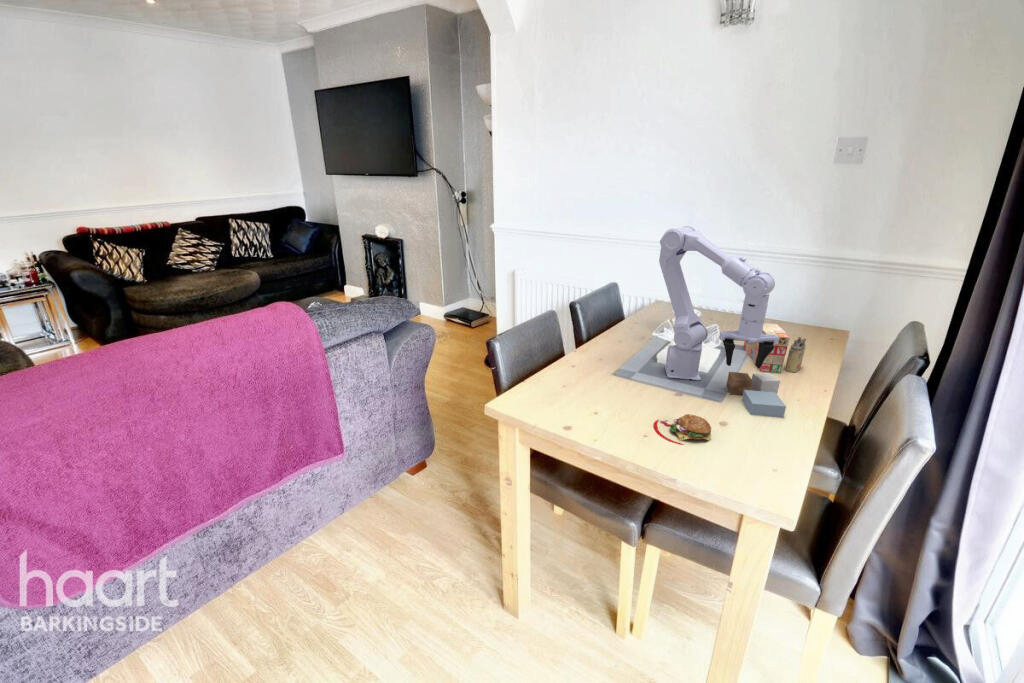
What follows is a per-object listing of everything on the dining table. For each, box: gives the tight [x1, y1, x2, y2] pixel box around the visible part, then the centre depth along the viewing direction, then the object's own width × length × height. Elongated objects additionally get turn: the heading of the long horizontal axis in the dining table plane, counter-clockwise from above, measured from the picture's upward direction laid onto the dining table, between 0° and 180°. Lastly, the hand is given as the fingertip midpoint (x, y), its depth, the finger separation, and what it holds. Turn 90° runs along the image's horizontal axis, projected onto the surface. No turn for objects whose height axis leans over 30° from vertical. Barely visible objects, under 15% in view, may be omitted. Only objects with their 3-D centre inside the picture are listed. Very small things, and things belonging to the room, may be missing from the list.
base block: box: [741, 390, 787, 418], centre depth 126 cm, size 8×8×4 cm
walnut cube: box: [725, 371, 752, 397], centre depth 135 cm, size 5×5×5 cm
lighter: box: [784, 336, 807, 373], centre depth 150 cm, size 7×4×10 cm, turn 137°
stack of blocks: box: [743, 322, 791, 374], centre depth 156 cm, size 21×6×12 cm, turn 169°
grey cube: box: [751, 372, 781, 395], centre depth 135 cm, size 5×5×5 cm
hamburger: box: [652, 413, 712, 446], centre depth 115 cm, size 14×14×6 cm
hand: (742, 365), depth 133 cm, fingers open, 7 cm apart
